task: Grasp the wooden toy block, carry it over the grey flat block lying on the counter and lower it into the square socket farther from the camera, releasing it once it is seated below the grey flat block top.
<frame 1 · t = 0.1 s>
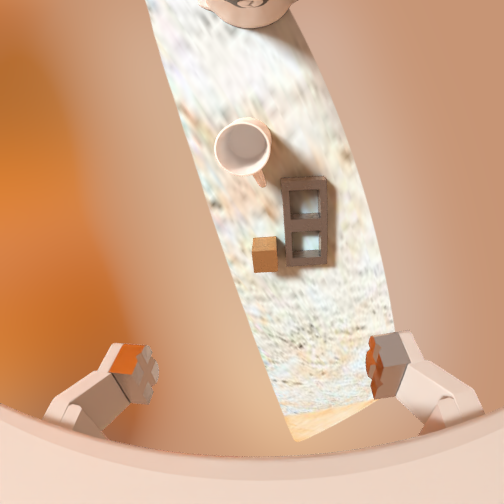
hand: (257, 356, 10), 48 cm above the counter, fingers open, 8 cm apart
mug: (250, 148, 53), on the counter
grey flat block: (304, 219, 59), on the counter
wooden toy block: (265, 247, 62), on the counter
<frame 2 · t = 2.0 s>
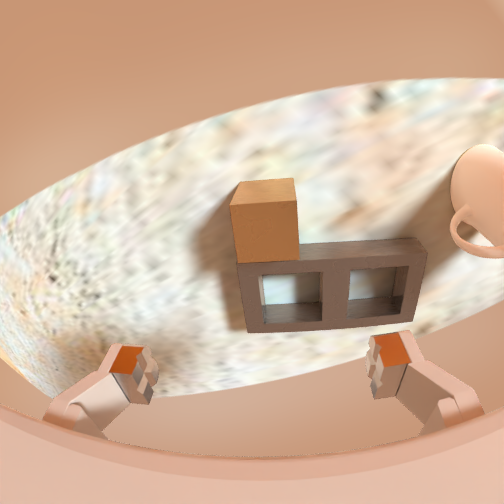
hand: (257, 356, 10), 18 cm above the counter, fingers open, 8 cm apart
mug: (469, 188, 23), on the counter
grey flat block: (331, 278, 29), on the counter
wooden toy block: (269, 204, 26), on the counter
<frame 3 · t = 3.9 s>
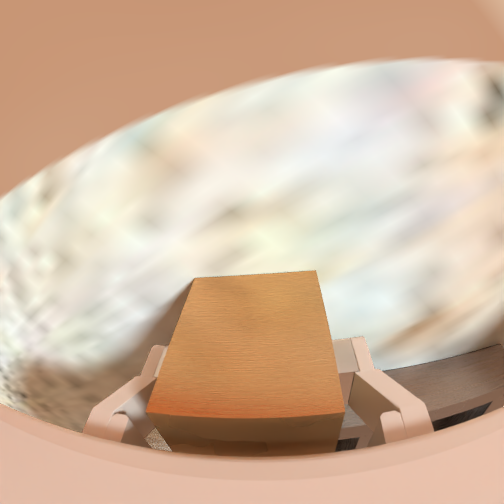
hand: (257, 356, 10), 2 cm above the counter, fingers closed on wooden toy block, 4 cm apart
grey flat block: (363, 413, 15), on the counter
wooden toy block: (259, 321, 12), on the counter, touching gripper
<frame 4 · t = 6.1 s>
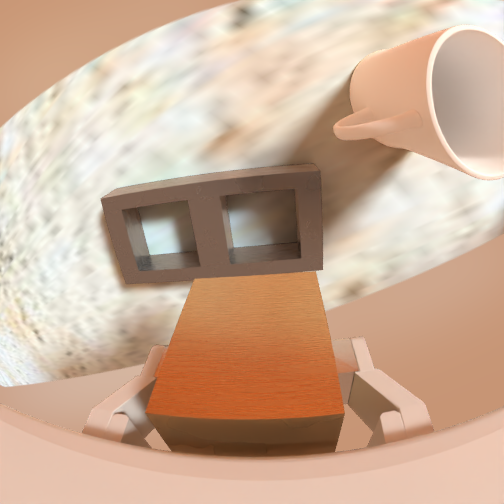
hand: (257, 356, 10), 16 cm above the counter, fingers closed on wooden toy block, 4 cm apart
mug: (379, 101, 21), on the counter
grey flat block: (215, 219, 26), on the counter
wooden toy block: (259, 322, 12), point 14 cm above the counter, touching gripper
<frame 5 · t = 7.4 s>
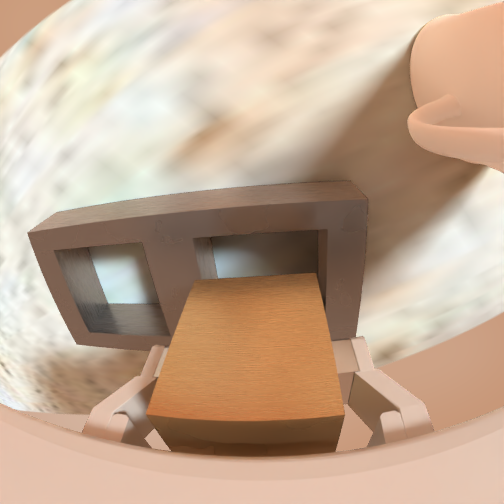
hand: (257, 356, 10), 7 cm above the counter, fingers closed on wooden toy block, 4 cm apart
mug: (450, 90, 11), on the counter
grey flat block: (193, 262, 17), on the counter
wooden toy block: (259, 323, 12), point 5 cm above the counter, touching gripper
when the fingers open (4 cm above the counter, at t = 8.4 s): wooden toy block drops 2 cm, resting in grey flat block.
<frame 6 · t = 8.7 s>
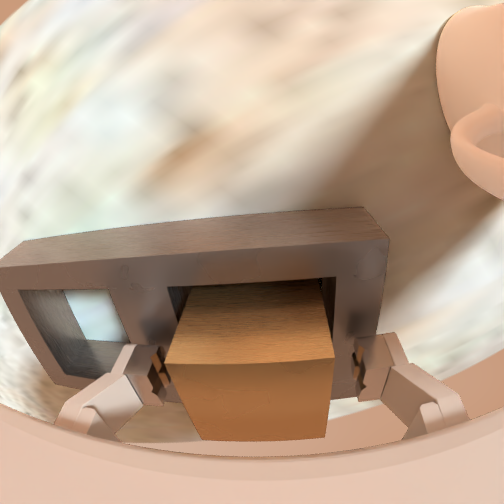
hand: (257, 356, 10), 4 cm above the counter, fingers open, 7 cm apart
mug: (480, 95, 9), on the counter
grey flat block: (175, 302, 14), on the counter
wooden toy block: (261, 298, 14), resting in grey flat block
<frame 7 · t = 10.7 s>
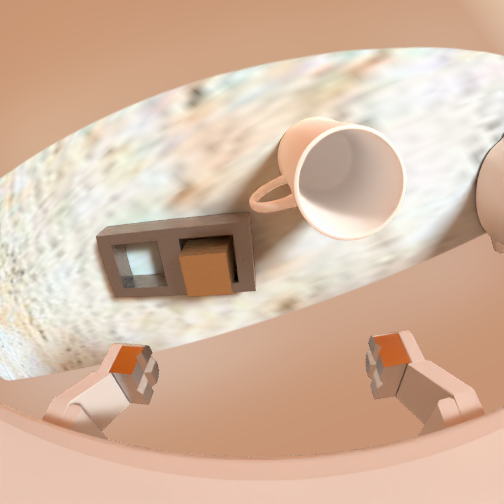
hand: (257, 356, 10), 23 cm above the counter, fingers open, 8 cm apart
mug: (303, 161, 30), on the counter
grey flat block: (179, 251, 35), on the counter
wooden toy block: (213, 248, 34), resting in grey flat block
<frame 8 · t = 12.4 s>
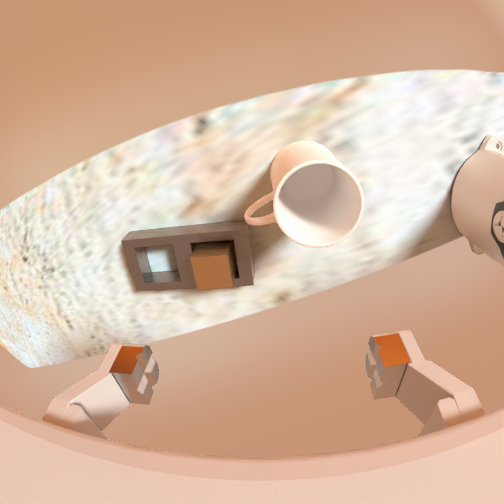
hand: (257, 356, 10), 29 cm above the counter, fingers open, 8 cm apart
mug: (292, 178, 37), on the counter
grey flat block: (190, 252, 42), on the counter
wooden toy block: (219, 250, 42), resting in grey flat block
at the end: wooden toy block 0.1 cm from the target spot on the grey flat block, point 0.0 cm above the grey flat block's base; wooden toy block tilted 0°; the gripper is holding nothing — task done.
